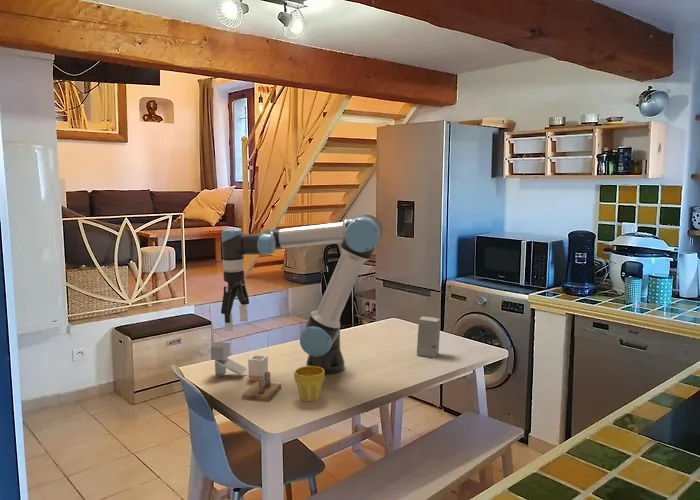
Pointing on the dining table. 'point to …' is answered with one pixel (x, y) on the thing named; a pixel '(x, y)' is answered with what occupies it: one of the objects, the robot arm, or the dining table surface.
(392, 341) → the dining table surface
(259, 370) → the sleeve
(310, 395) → the plant pot
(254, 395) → the pin board
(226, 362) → the chute
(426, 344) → the skincare box
